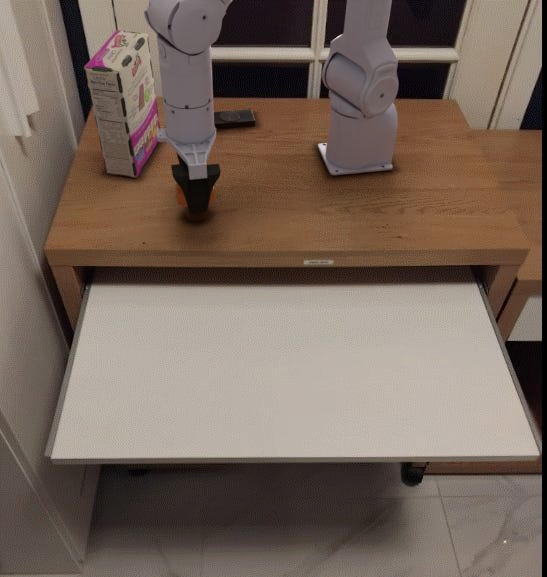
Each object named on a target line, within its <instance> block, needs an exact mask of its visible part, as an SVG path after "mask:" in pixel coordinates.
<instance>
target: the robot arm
mask: <svg viewBox="0 0 547 577" xmlns="http://www.w3.org/2000/svg"><path fill="white" fill-rule="evenodd" d="M233 1H234V0H148V5H147V9H144V11H143V15H144V19H145V21H146V24H147V25H148V27H149V28H150V29H151V30H152V31H153V32H154V33H155V35H156V43H157V51H158V52H157V53H158V63H159V65H158V66H159V74H160V85H161V94H162V103H163V113H164V123H165V124H164V127H163V128H161V127H160V129H157V131H156V133H157V140H158V143H167V144H168V145H169V146H170V147H171V148H172V149H173V150H174V152H175V153H176V156H177V159H178V163H177V164H171V165H170V167H171V175H172V178H173V180H174V182H175V183H176V184H177V183H178V185H179V186H180V187H181V189H182V191H183V193H184V196H185V199H186V203H187V206H188V209H189V211H190V213H191V214H196V213H205V212H207V213H208V208H209V206H210V204H209V201H210V196H211V192H212V189H213V187H214V186H215V184H216V183H217V181H218V180H219V178H220V177H221V172H222V170H221V166H220V163H212V164H211V163H210V164H207V161H208V159H209V157H210V154H211V151H212V149H213V146H214V145H215V144H214V143H215V141H216V138H217V129H216V128H215V126H214V112H215V111H214V110H215V108H214V107H215V106H214V88H213V87H214V86H213V62H212V45H213V44H214V43H216V42H217V40H218V39H219V36H220V33H221V30H222V23H223V19H224V17H225V15H226V14H227V12H226V11H227V10H228V7H229V5H230V4H231V3H232V2H233ZM392 2H393V0H346V7H345V8H346V9H345V15H344V24H343V33H342V34H340V35H338V36H337V37H336V38H333V39H332V40H331V41H330V44H329V45H330V46H329V52H328V56H327V58H326V60H325V62H324V64H323V67H322V72H321V77H322V78H321V80H322V83H323V85H324V86H325V87H326V88H327V89H328V98H329V99H330V108H329V116H328V118H329V119H328V128H327V139H326V142H321V143H318V144H317V149H318V151H319V153H320V156H321V157H322V159H323V162H324V164H325V166H326V168H327V171H328V173H329V175H331V176H341V175H352V174H361V173H371V172H372V173H373V172H382V171H391V170H393V167H394V166H393V164H392V161H393V155H394V150H395V147H396V146H395V145H396V140H397V139H396V138H397V135H398V127H399V117H398V110H397V108H396V105H395V103H394V101H395V100H396V97H397V95H398V91H399V85H400V84H399V78H398V72H397V70H398V65H399V64H398V63H399V60H398V58H397V55H396V54H395V52H394V50H393V48H392V47H391V44H390V43H389V41H388V39H387V33H388V27H389V21H390V16H391V8H392ZM214 188H215V187H214Z"/></svg>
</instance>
